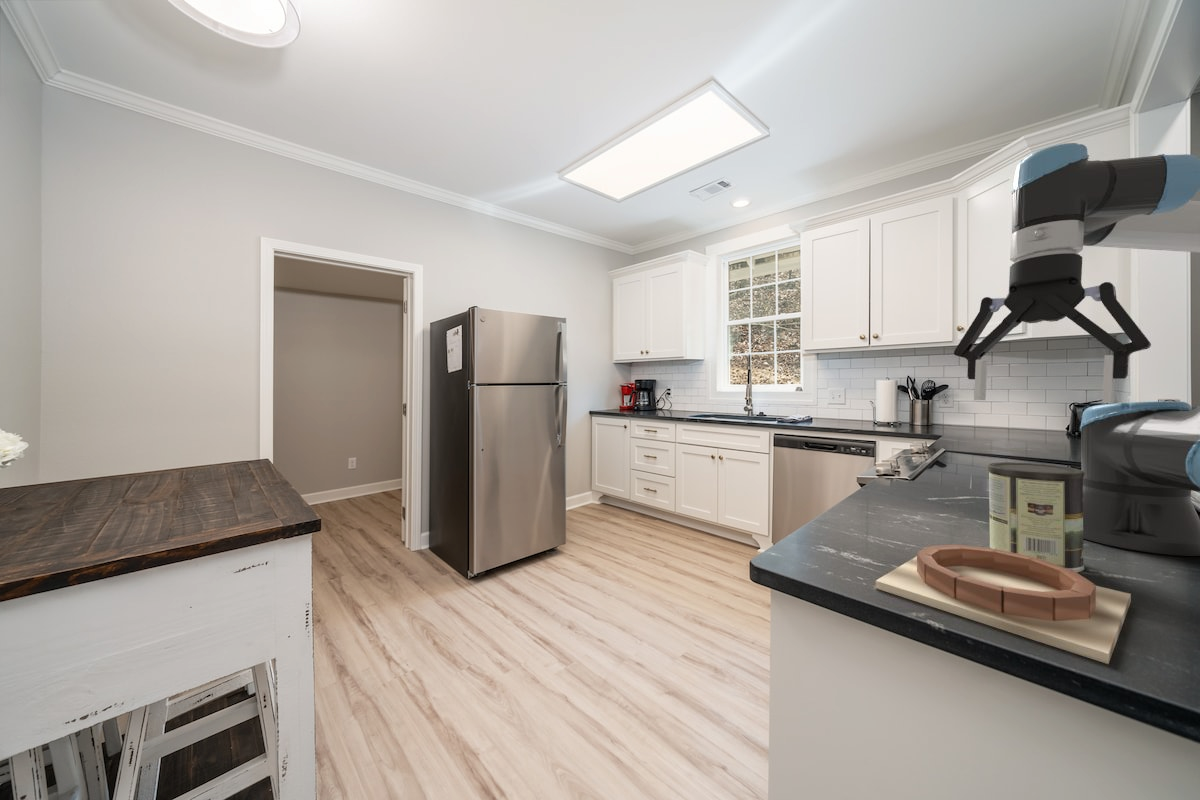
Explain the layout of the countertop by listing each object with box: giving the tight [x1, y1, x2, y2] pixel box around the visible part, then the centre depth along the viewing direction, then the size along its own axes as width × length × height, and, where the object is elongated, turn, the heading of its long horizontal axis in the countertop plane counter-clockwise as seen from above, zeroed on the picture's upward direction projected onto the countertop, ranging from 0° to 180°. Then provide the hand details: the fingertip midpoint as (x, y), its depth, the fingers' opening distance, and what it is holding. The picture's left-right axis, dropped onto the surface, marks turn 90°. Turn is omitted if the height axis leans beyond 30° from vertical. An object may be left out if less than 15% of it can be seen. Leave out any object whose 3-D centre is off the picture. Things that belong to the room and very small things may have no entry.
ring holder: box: [875, 544, 1132, 665], centre depth 55 cm, size 20×20×4 cm
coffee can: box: [987, 461, 1085, 573], centre depth 65 cm, size 10×10×14 cm
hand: (1038, 401), depth 65 cm, fingers open, 13 cm apart
